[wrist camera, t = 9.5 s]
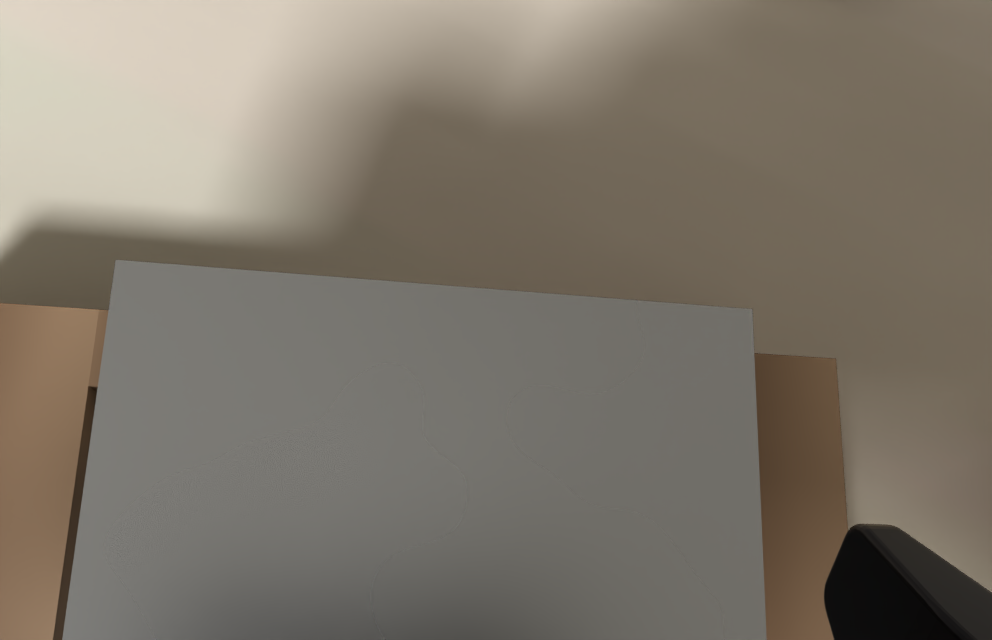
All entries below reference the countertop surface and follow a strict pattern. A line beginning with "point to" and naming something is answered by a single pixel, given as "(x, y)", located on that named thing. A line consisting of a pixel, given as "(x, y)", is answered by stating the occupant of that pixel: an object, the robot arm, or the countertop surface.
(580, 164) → the countertop surface
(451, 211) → the countertop surface
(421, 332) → the grey tower on plinth
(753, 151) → the countertop surface
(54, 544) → the rail
